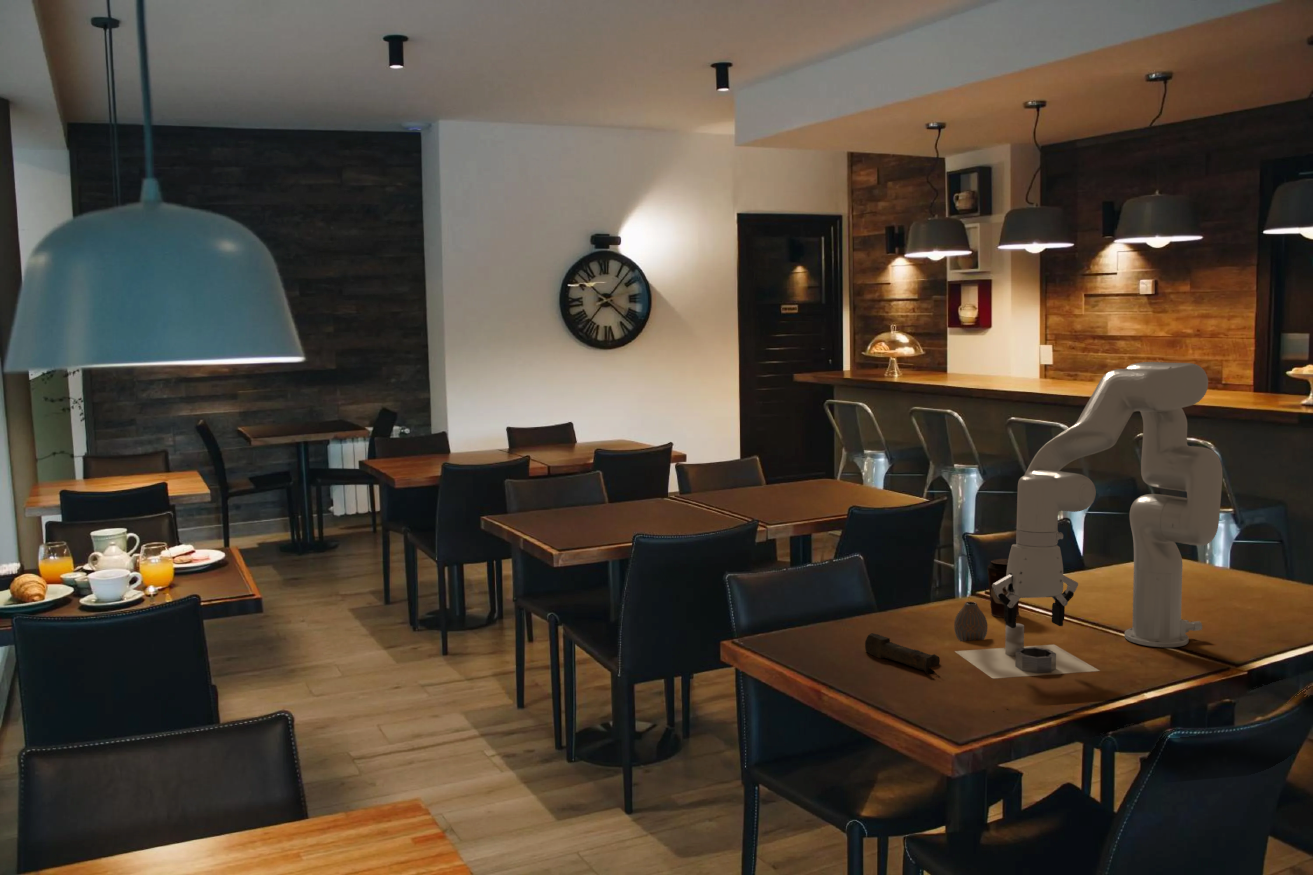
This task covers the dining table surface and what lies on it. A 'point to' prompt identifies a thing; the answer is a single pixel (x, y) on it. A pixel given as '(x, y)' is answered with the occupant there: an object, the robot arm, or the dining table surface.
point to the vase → (970, 623)
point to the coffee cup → (995, 574)
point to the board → (1008, 663)
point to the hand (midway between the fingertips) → (1033, 625)
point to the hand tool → (900, 653)
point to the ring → (1035, 660)
